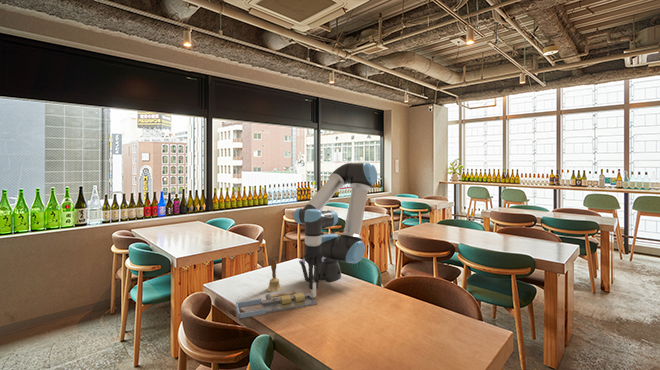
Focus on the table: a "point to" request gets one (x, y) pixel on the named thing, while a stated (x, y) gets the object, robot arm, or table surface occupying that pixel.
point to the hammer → (279, 295)
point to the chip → (285, 299)
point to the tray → (250, 313)
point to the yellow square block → (298, 297)
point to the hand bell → (274, 279)
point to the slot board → (276, 306)
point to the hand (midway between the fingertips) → (313, 295)
